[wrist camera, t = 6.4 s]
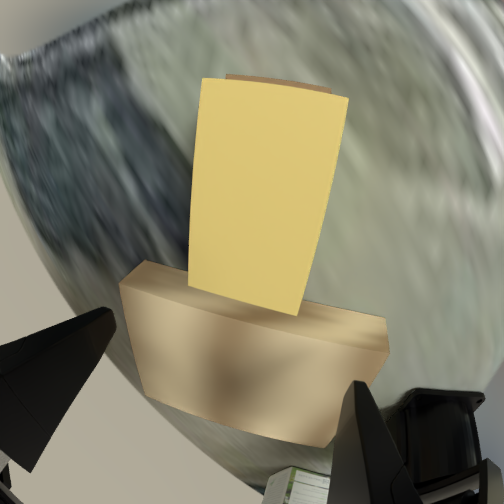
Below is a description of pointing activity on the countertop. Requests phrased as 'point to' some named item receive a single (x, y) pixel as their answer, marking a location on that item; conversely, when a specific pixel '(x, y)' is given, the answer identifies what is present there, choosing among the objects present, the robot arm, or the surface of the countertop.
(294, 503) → the syrup box
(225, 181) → the mustard block
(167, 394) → the cutting board
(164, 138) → the countertop surface
